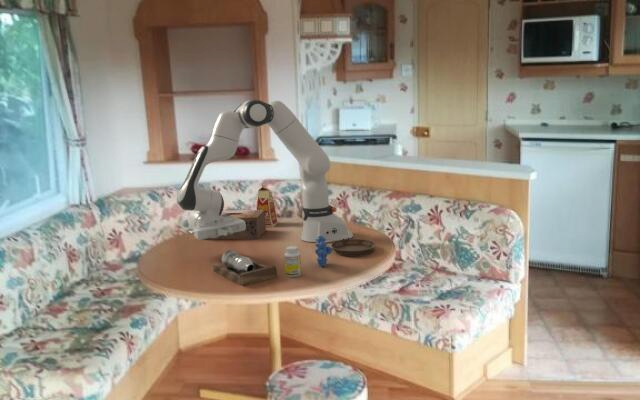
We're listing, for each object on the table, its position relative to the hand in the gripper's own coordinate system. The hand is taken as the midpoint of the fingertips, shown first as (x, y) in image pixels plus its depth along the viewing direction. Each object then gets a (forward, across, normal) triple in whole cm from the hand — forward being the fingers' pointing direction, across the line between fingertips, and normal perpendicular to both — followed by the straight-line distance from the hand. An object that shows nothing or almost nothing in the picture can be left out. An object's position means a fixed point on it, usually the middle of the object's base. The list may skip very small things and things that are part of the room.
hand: (229, 232), depth 232 cm
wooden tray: (+10, 0, +13) cm, 17 cm away
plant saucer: (+15, +46, +14) cm, 51 cm away
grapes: (+23, +26, +14) cm, 38 cm away
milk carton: (-48, +44, +14) cm, 67 cm away
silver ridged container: (-2, 0, +10) cm, 10 cm away
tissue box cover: (-43, +24, +14) cm, 51 cm away
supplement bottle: (+23, +12, +14) cm, 30 cm away
